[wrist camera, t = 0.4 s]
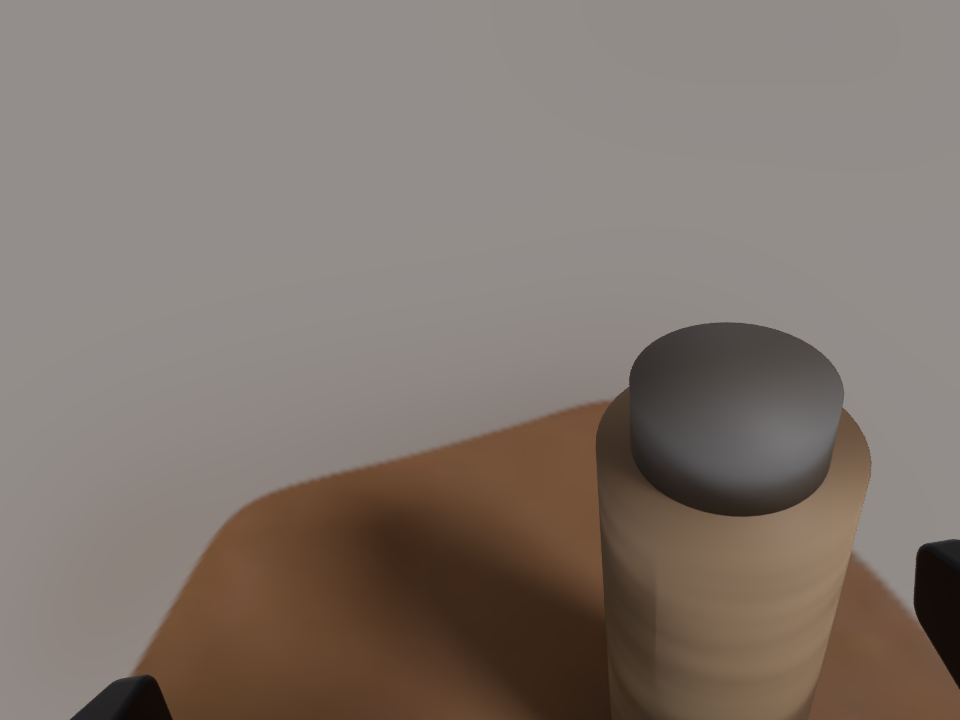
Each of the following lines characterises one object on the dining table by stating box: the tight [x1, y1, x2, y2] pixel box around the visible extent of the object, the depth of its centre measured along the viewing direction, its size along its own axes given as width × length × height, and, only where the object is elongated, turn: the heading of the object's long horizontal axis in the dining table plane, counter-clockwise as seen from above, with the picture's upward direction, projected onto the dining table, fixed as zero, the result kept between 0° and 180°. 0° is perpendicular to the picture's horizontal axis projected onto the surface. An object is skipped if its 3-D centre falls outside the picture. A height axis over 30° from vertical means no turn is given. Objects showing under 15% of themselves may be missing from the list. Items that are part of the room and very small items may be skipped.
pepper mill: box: [596, 323, 871, 720], centre depth 19 cm, size 5×5×15 cm
